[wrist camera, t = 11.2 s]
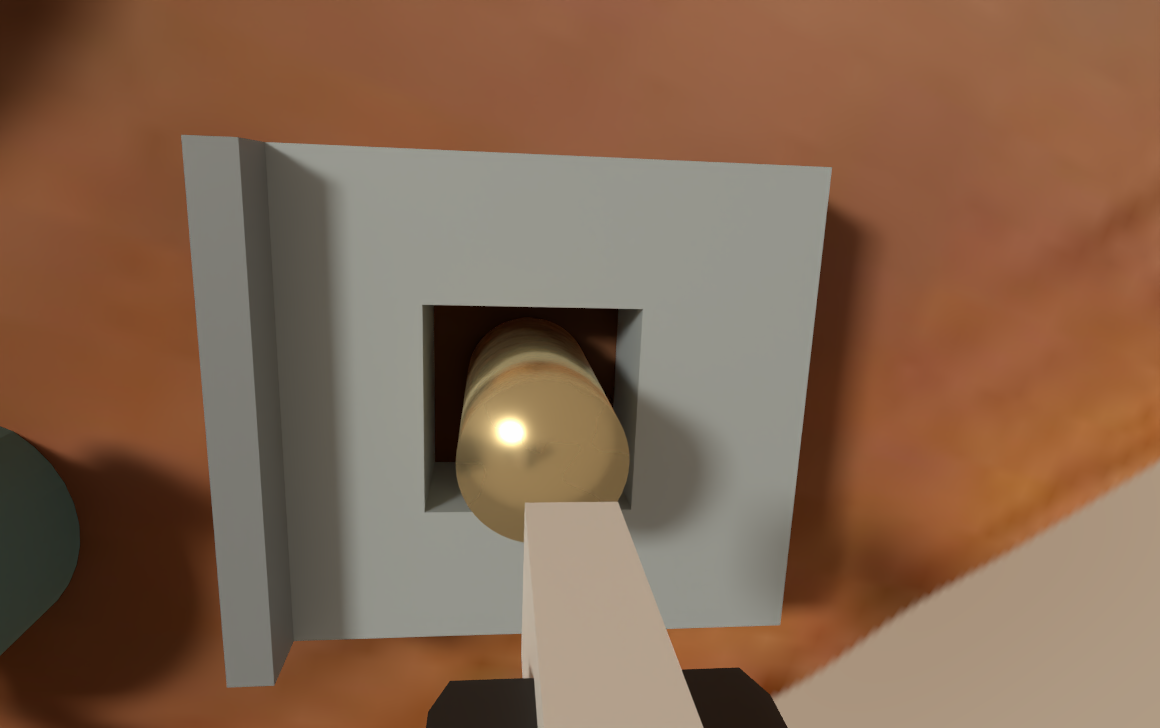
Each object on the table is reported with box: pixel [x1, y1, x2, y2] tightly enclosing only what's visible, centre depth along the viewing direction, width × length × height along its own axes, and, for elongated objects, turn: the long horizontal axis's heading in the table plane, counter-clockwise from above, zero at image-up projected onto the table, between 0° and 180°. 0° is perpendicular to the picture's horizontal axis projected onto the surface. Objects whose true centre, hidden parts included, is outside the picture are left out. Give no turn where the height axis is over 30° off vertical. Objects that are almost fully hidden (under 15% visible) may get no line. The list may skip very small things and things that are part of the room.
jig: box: [181, 135, 832, 687], centre depth 22 cm, size 16×14×6 cm
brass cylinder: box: [456, 318, 630, 542], centre depth 21 cm, size 4×4×8 cm
